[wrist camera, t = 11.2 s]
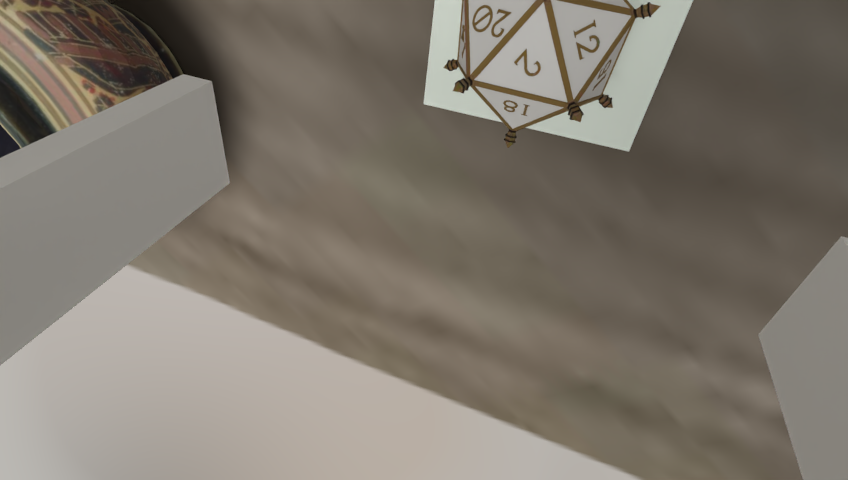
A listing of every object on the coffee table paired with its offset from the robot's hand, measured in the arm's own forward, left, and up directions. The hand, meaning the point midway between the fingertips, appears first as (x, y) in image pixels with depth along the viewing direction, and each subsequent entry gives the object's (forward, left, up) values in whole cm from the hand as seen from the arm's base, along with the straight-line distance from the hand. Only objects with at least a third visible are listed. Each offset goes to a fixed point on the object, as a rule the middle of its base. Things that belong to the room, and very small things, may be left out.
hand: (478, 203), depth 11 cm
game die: (0, 0, -18) cm, 18 cm away
